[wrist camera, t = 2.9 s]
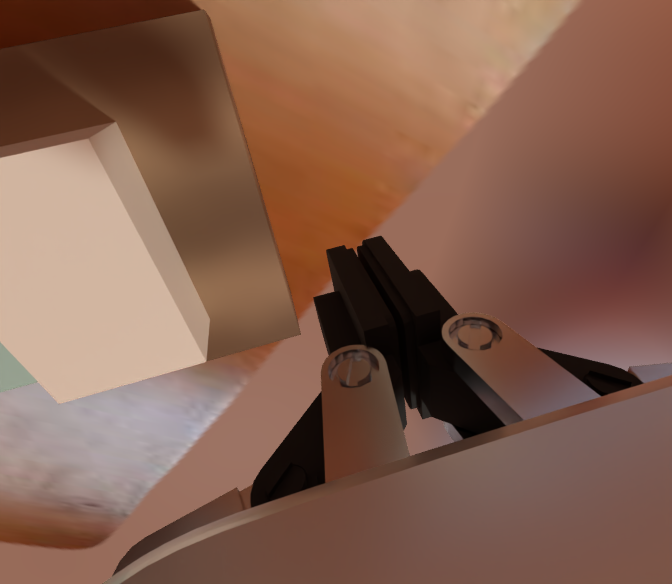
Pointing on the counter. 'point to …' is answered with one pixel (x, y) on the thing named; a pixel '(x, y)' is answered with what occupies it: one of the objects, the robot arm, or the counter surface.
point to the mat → (12, 372)
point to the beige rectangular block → (90, 268)
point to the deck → (167, 155)
